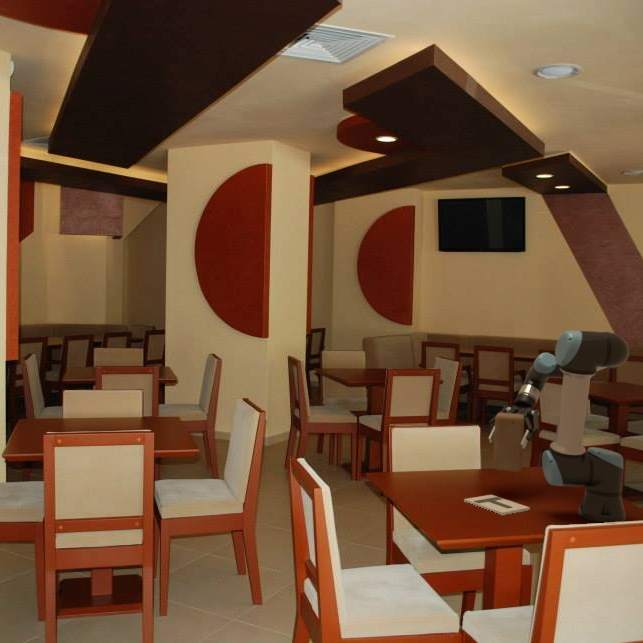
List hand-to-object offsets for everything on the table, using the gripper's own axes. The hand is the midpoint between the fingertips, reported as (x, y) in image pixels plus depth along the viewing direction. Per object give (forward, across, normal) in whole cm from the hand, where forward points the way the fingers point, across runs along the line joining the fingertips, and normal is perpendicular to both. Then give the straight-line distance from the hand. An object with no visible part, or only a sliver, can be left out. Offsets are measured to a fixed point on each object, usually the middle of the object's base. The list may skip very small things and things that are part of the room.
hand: (506, 443), depth 287 cm
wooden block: (+5, 0, -8) cm, 10 cm away
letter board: (+23, -4, -5) cm, 24 cm away
